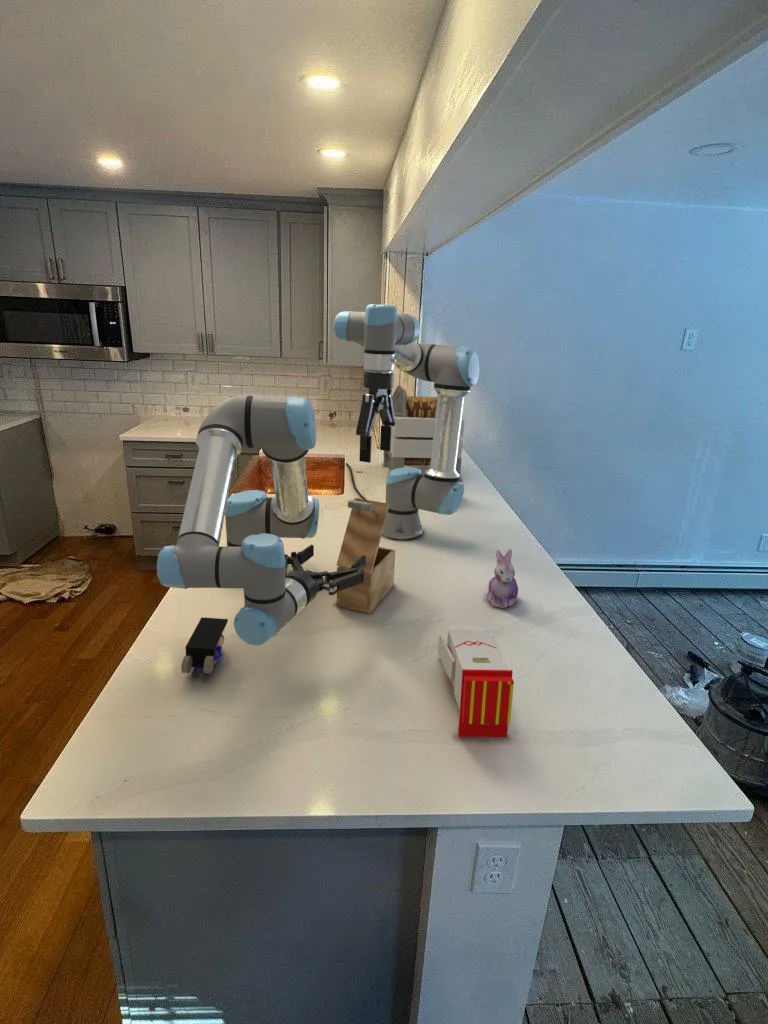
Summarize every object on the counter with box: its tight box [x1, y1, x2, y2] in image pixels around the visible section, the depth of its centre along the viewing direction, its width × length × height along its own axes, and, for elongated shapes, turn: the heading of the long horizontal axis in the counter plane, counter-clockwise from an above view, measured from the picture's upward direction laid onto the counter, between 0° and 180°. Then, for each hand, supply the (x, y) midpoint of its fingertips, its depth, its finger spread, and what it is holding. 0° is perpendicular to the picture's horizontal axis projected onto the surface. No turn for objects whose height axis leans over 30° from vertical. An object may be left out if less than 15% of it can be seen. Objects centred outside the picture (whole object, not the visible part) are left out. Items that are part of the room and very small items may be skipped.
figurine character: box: [180, 616, 229, 679], centre depth 123 cm, size 7×8×15 cm
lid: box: [336, 497, 389, 573], centre depth 143 cm, size 18×10×8 cm
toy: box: [437, 628, 515, 738], centre depth 117 cm, size 12×13×30 cm
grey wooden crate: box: [383, 384, 465, 478], centre depth 268 cm, size 34×33×41 cm
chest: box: [335, 546, 396, 614], centre depth 155 cm, size 18×10×11 cm, turn 158°
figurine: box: [487, 548, 519, 609], centre depth 154 cm, size 9×10×15 cm
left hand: (337, 555), depth 134 cm, fingers open, 13 cm apart
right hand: (375, 455), depth 146 cm, fingers open, 13 cm apart
